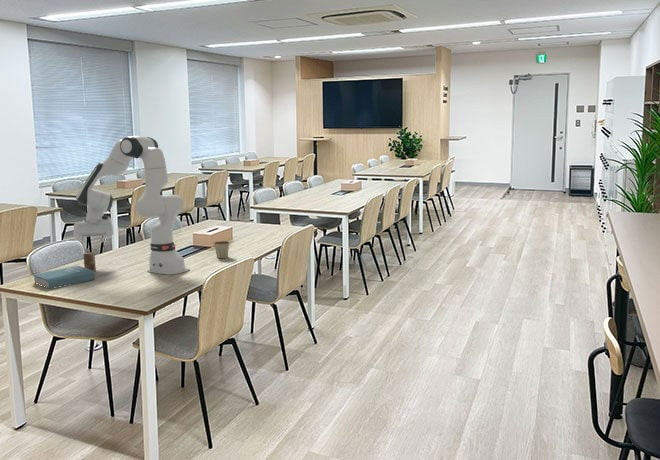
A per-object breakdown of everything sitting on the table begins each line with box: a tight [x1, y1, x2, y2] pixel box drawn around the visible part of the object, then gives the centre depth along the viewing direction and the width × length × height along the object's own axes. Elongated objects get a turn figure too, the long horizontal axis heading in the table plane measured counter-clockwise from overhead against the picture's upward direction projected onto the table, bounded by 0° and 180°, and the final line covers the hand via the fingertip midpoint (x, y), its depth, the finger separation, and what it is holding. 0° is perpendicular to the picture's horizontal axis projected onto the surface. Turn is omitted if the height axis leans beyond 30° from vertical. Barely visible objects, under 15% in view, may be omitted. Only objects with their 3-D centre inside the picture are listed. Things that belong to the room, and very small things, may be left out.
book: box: [32, 265, 96, 290], centre depth 294 cm, size 23×16×5 cm
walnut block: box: [83, 251, 97, 273], centre depth 312 cm, size 4×4×10 cm
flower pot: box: [213, 240, 231, 259], centre depth 344 cm, size 9×9×9 cm
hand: (92, 242), depth 321 cm, fingers open, 8 cm apart
